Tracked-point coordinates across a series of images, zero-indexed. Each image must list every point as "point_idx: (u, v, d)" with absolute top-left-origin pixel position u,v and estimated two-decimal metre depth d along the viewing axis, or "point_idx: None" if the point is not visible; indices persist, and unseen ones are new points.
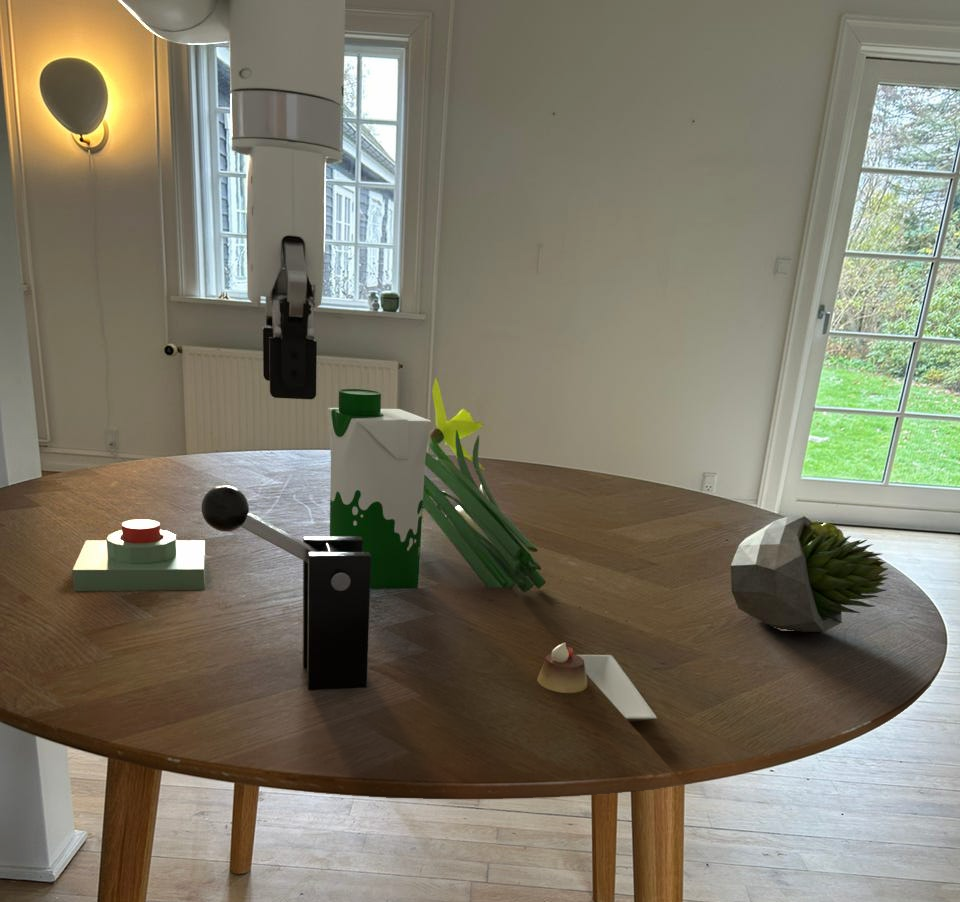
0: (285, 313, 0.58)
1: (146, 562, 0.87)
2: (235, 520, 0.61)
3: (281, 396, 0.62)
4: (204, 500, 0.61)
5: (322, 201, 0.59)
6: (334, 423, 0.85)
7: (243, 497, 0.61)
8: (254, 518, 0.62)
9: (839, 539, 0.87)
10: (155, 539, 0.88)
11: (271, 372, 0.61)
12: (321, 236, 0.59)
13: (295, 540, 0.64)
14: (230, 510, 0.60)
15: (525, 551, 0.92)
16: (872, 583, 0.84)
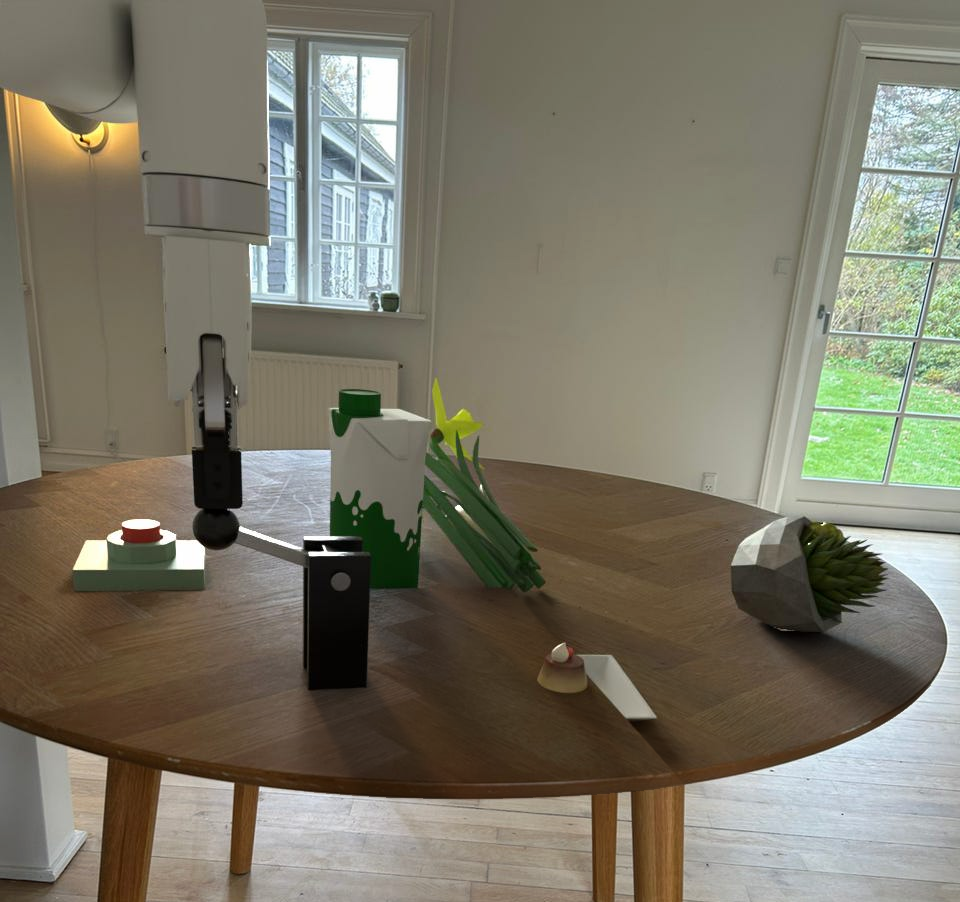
0: (204, 429, 0.56)
1: (146, 562, 0.87)
2: (227, 538, 0.61)
3: (206, 507, 0.61)
4: (194, 523, 0.61)
5: (244, 294, 0.53)
6: (334, 423, 0.85)
7: (231, 513, 0.62)
8: (246, 532, 0.62)
9: (839, 539, 0.87)
10: (155, 539, 0.88)
11: (194, 483, 0.60)
12: (244, 332, 0.53)
13: (290, 547, 0.64)
14: (220, 529, 0.61)
15: (525, 551, 0.92)
16: (872, 583, 0.84)
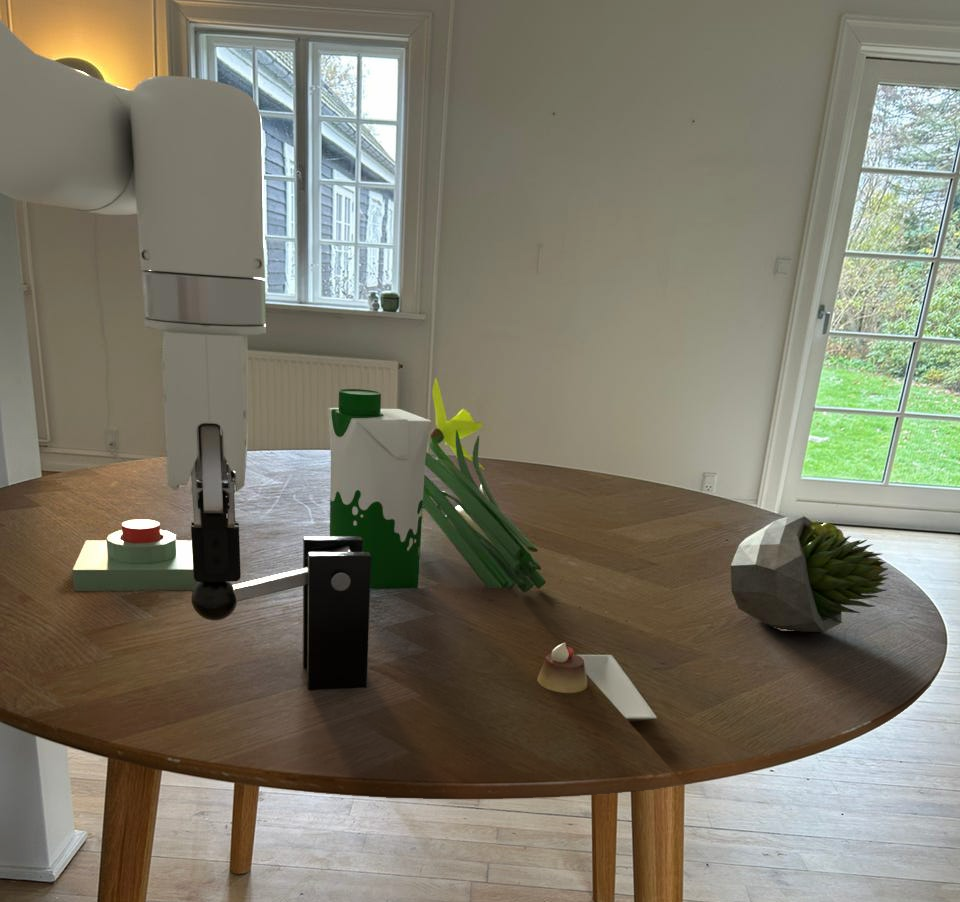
0: (203, 510, 0.58)
1: (146, 562, 0.87)
2: (226, 603, 0.63)
3: (205, 580, 0.62)
4: None
5: (241, 384, 0.55)
6: (334, 423, 0.85)
7: None
8: (240, 587, 0.64)
9: (839, 539, 0.87)
10: (155, 539, 0.88)
11: (194, 558, 0.62)
12: (241, 421, 0.55)
13: (285, 576, 0.64)
14: (214, 600, 0.62)
15: (525, 551, 0.92)
16: (872, 583, 0.84)
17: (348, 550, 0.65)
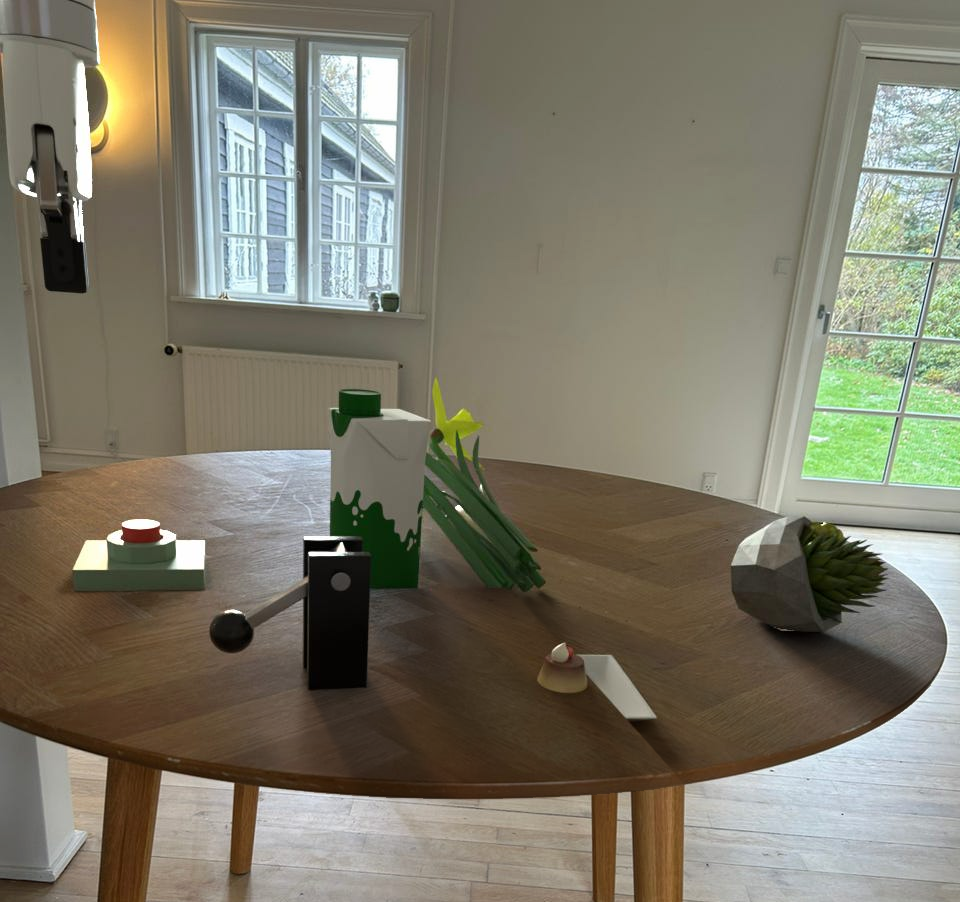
0: (44, 213, 0.69)
1: (146, 562, 0.87)
2: (242, 633, 0.64)
3: (55, 290, 0.73)
4: (214, 645, 0.65)
5: (69, 93, 0.65)
6: (334, 423, 0.85)
7: (228, 614, 0.64)
8: (251, 614, 0.65)
9: (839, 539, 0.87)
10: (155, 539, 0.88)
11: (44, 268, 0.72)
12: (70, 125, 0.66)
13: (289, 591, 0.65)
14: (230, 634, 0.64)
15: (525, 551, 0.92)
16: (872, 583, 0.84)
17: (341, 547, 0.65)
